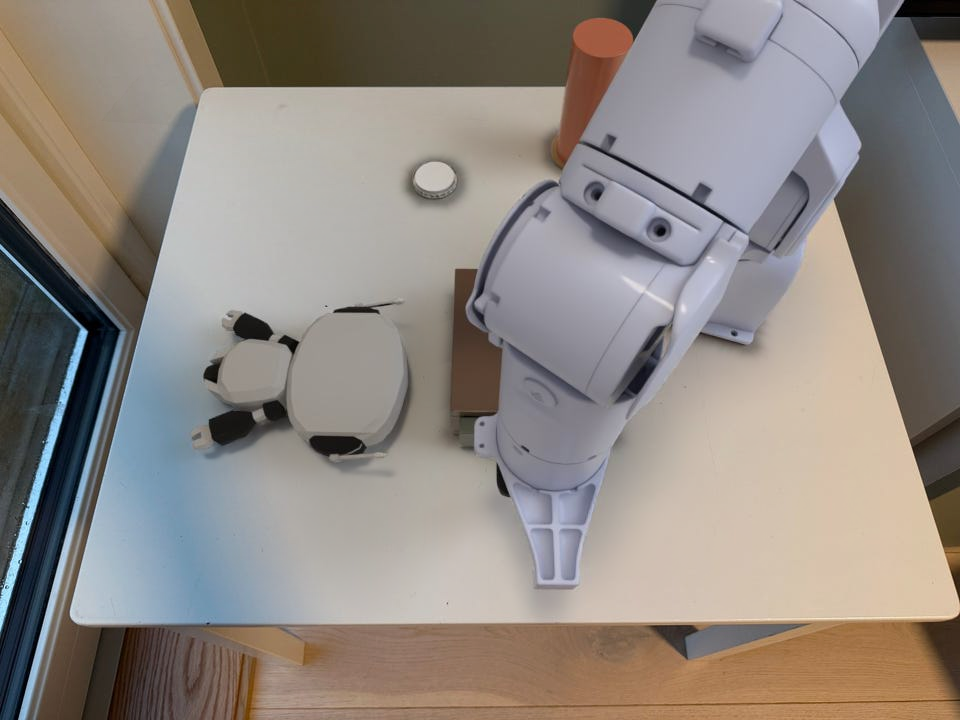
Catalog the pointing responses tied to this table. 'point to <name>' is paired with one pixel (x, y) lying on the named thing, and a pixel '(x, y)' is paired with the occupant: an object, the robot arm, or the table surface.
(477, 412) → the cabinet
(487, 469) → the table surface
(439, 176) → the white bottle cap
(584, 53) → the orange cylinder post
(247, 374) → the robot toy
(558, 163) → the coaster
